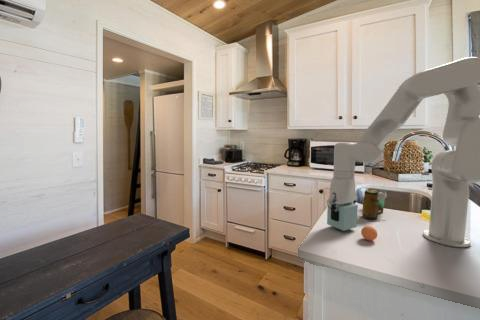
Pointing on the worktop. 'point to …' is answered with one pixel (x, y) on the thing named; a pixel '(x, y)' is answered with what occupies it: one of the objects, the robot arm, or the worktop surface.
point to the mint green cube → (344, 217)
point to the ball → (369, 233)
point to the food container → (380, 199)
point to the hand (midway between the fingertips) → (342, 218)
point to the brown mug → (370, 206)
